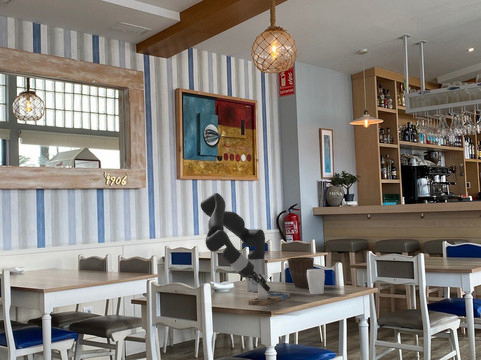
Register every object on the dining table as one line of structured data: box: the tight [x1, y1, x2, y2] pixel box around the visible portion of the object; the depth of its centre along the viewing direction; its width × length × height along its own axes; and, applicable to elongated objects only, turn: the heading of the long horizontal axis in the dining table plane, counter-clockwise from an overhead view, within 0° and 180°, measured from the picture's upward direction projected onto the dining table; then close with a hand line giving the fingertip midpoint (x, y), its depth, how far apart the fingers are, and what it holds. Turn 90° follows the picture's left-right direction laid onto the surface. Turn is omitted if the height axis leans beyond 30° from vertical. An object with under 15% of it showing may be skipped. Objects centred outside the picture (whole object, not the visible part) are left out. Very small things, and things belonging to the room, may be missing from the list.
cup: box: [307, 268, 326, 295], centre depth 301 cm, size 9×9×12 cm
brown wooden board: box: [247, 292, 291, 306], centre depth 279 cm, size 9×26×2 cm, turn 151°
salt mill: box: [257, 274, 268, 300], centre depth 273 cm, size 4×4×13 cm
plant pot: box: [286, 256, 315, 289], centre depth 329 cm, size 15×15×16 cm
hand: (266, 289), depth 274 cm, fingers closed on salt mill, 4 cm apart
